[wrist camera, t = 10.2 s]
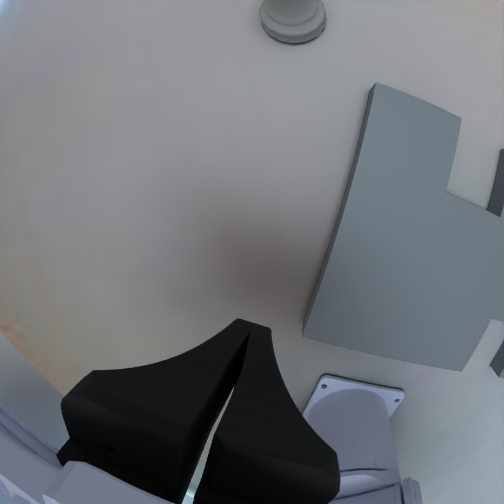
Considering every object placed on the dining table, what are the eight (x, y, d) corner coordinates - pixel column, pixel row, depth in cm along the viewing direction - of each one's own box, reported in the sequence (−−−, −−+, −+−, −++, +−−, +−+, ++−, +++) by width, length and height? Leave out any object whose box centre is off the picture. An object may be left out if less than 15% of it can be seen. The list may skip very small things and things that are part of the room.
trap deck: (528, 371, 19) (536, 381, 17) (303, 322, 22) (301, 336, 20) (590, 217, 14) (603, 221, 12) (370, 89, 17) (376, 82, 15)
